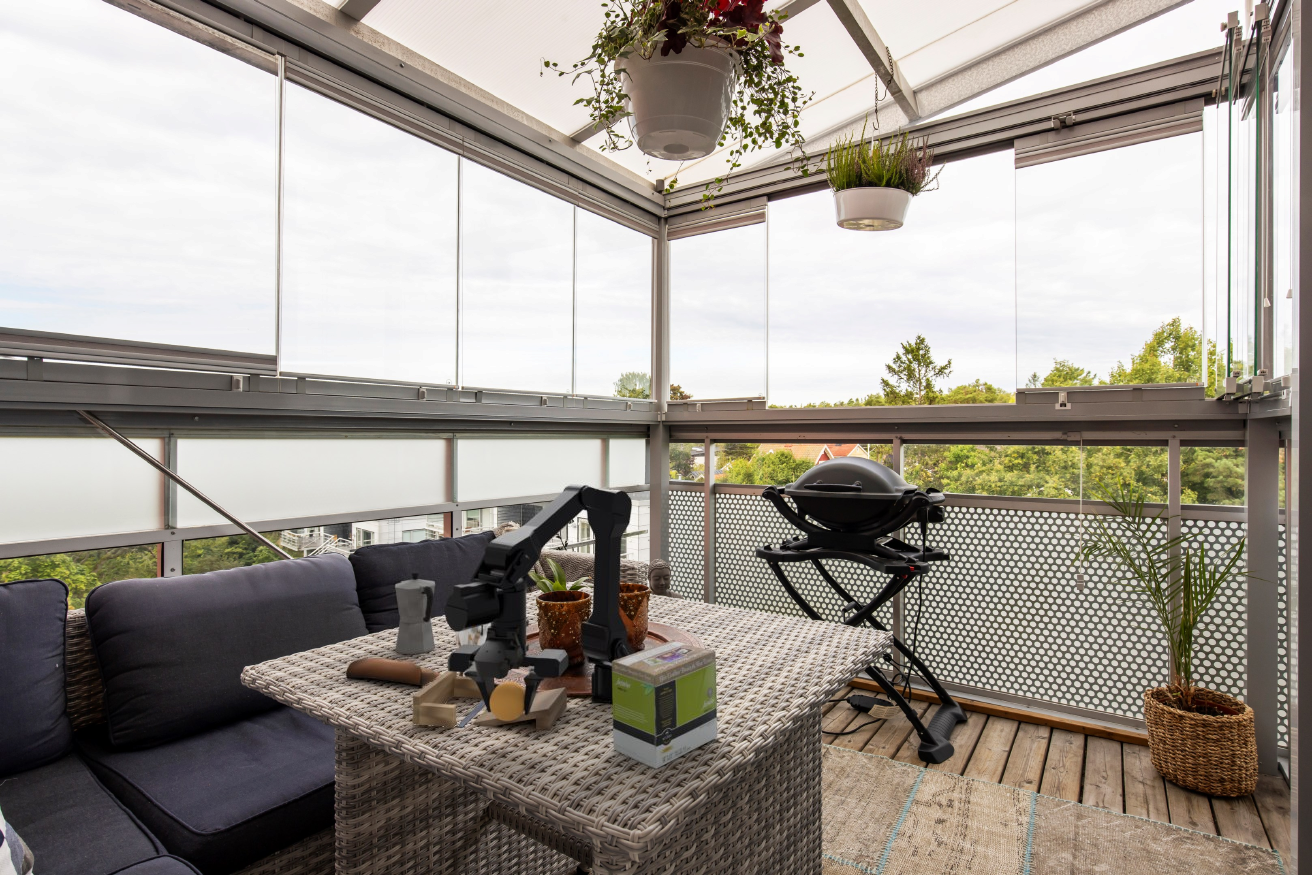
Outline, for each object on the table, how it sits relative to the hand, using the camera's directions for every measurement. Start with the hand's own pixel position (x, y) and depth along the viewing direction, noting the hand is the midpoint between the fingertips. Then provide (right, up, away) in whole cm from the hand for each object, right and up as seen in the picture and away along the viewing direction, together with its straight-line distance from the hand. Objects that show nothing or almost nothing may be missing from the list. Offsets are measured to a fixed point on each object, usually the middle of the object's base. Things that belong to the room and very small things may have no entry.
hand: (508, 712), depth 113 cm
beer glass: (-13, -5, +29) cm, 32 cm away
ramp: (0, -5, +11) cm, 12 cm away
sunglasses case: (-30, -5, +30) cm, 43 cm away
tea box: (+26, -5, 0) cm, 26 cm away
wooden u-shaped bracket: (-13, -5, +13) cm, 20 cm away
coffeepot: (-31, -5, +48) cm, 58 cm away
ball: (0, -1, 0) cm, 1 cm away
